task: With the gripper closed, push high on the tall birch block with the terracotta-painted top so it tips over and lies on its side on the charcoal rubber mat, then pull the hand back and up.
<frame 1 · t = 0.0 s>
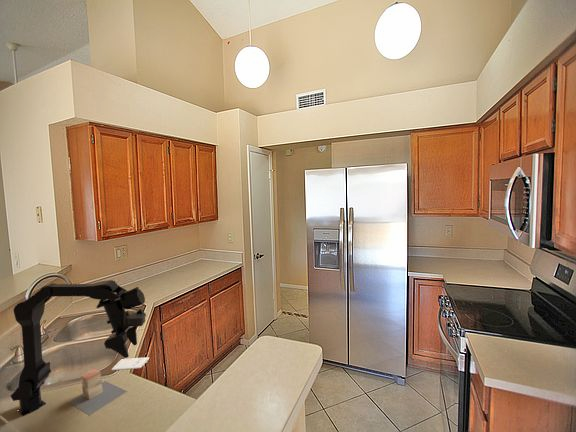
hand: (131, 350, 107), 15 cm above the worktop, tool pointing down, fingers open, 9 cm apart
block: (93, 394, 106), resting on mat
mat: (98, 397, 104), on the worktop
external hard drive: (131, 366, 125), on the worktop
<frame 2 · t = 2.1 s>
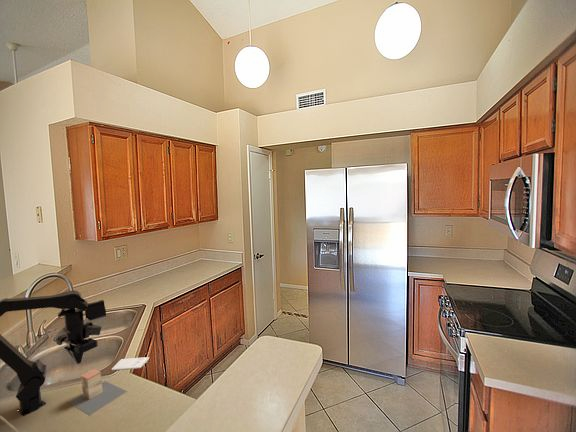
hand: (78, 363, 109), 11 cm above the worktop, tool pointing down, fingers closed
nothing on the worktop moved.
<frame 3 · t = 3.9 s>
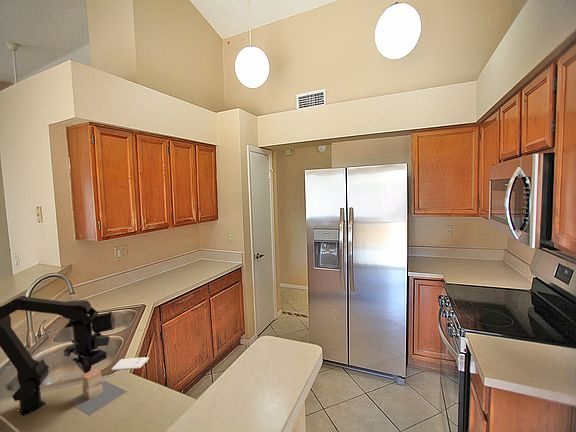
hand: (87, 374, 107), 7 cm above the worktop, tool pointing down, fingers closed
block: (93, 393, 106), point 1 cm above the worktop, touching gripper, mat
everything else where it was.
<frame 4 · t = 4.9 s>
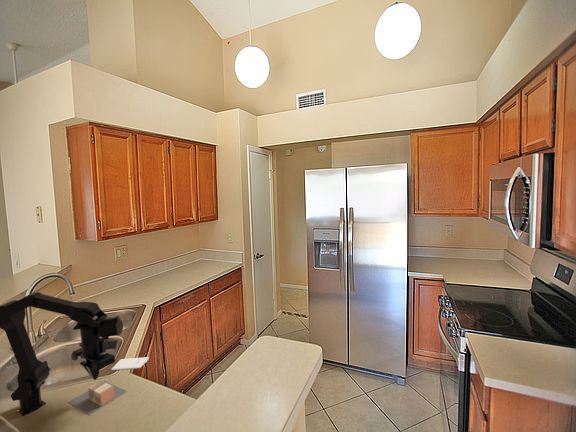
hand: (95, 379, 104), 7 cm above the worktop, tool pointing down, fingers closed
block: (95, 389, 105), point 3 cm above the worktop, tilted 90°, touching mat
everything else where it was.
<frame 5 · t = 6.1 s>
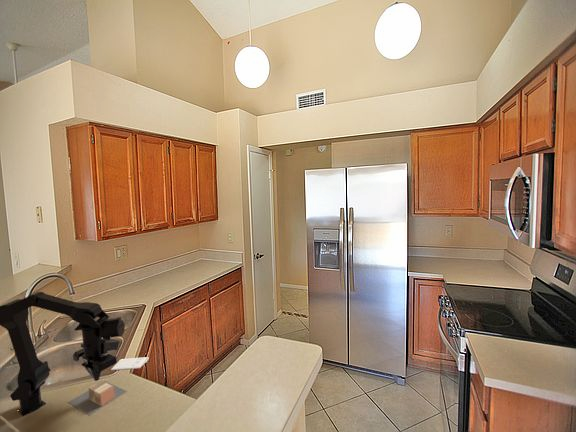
hand: (96, 380, 104), 7 cm above the worktop, tool pointing down, fingers closed
nothing on the worktop moved.
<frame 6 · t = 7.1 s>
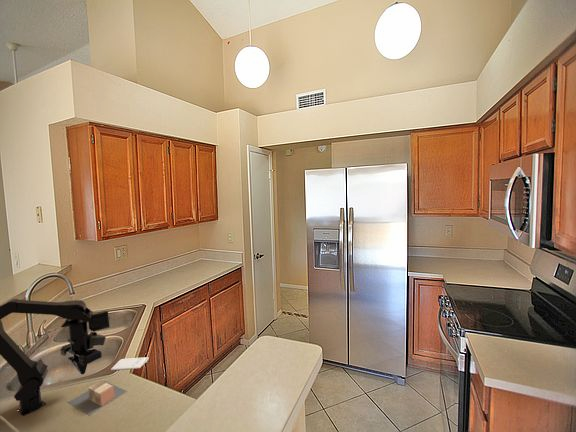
hand: (83, 373, 108), 7 cm above the worktop, tool pointing down, fingers closed
nothing on the worktop moved.
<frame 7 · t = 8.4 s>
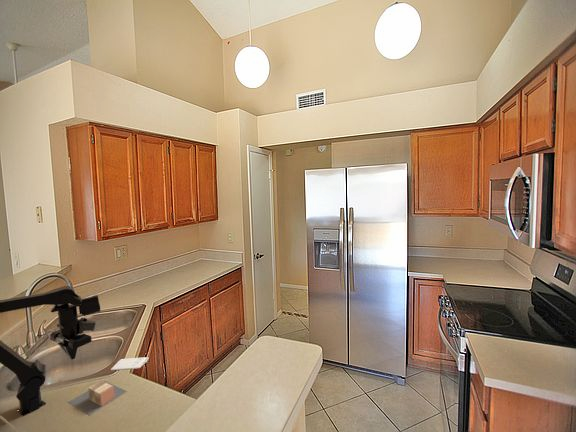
hand: (72, 358, 108), 13 cm above the worktop, tool pointing down, fingers closed
nothing on the worktop moved.
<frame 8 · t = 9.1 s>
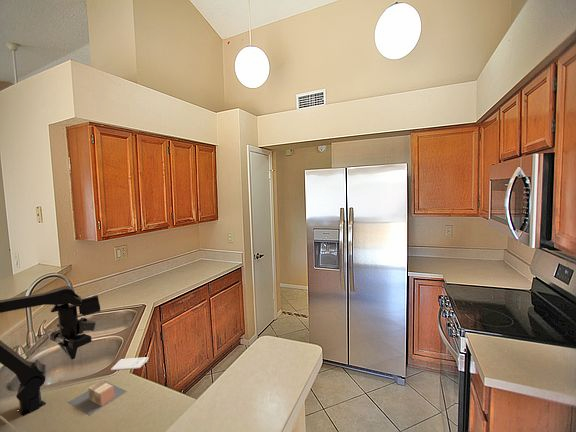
hand: (72, 358, 108), 13 cm above the worktop, tool pointing down, fingers closed
nothing on the worktop moved.
at the end: block tilted 90°; block inside the target area (0.7 cm from its centre), point 2.7 cm above the worktop; block touching mat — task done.
